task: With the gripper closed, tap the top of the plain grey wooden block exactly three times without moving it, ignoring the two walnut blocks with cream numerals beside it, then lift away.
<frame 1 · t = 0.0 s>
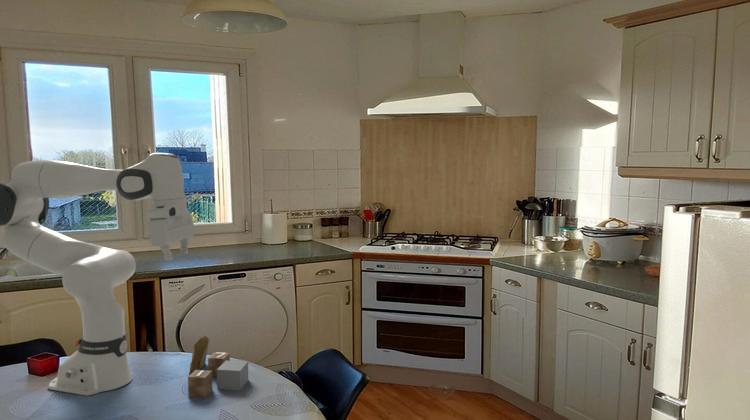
hand: (176, 256, 156), 39 cm above the table, tool pointing down, fingers open, 8 cm apart
walnut block seven: (219, 374, 169), on the table
grey block: (233, 384, 161), on the table
rock: (195, 369, 173), on the table
walnut block one: (200, 393, 155), on the table
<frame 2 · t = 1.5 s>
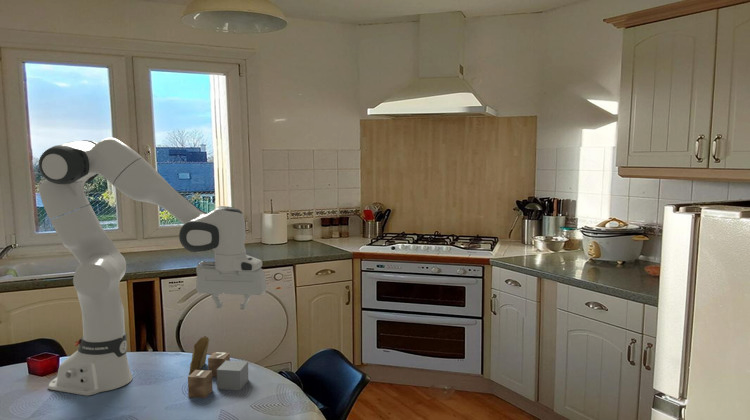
hand: (231, 308, 159), 23 cm above the table, tool pointing down, fingers open, 6 cm apart
nothing on the table moved.
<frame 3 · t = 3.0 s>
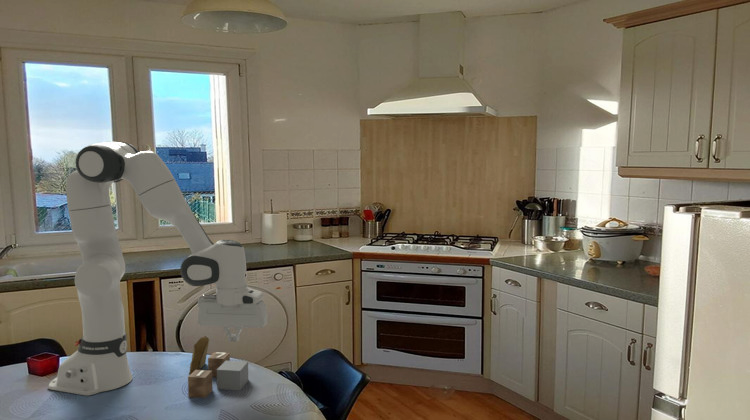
hand: (233, 340, 160), 13 cm above the table, tool pointing down, fingers closed
nothing on the table moved.
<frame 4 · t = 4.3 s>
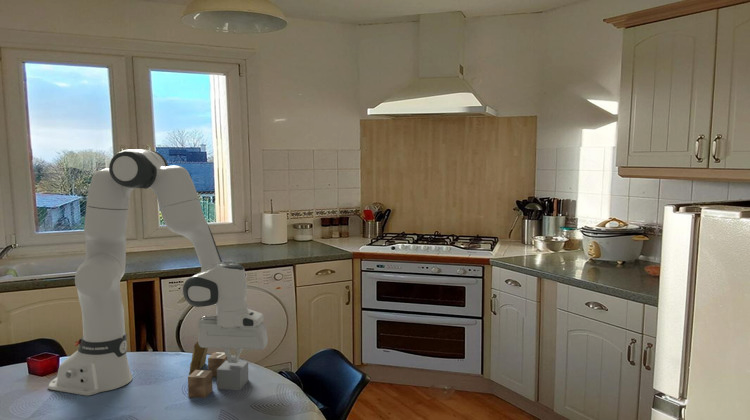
hand: (233, 362, 161), 7 cm above the table, tool pointing down, fingers closed
nothing on the table moved.
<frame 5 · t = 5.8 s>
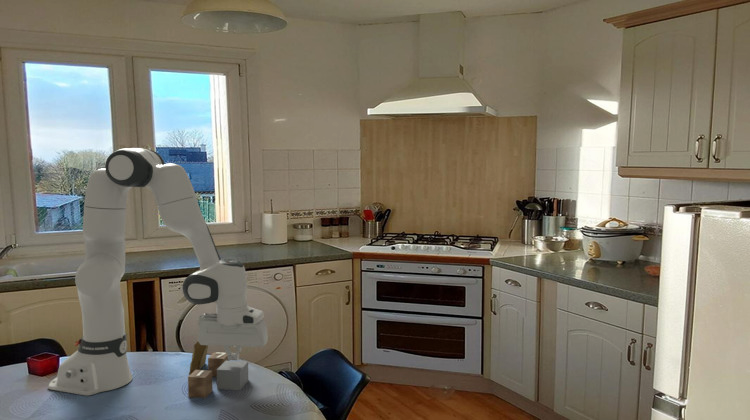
hand: (233, 359, 161), 8 cm above the table, tool pointing down, fingers closed
nothing on the table moved.
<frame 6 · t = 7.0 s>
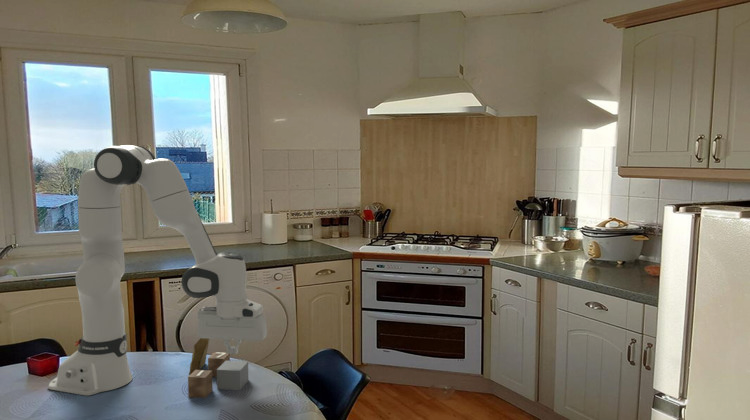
hand: (232, 353, 160), 10 cm above the table, tool pointing down, fingers closed
nothing on the table moved.
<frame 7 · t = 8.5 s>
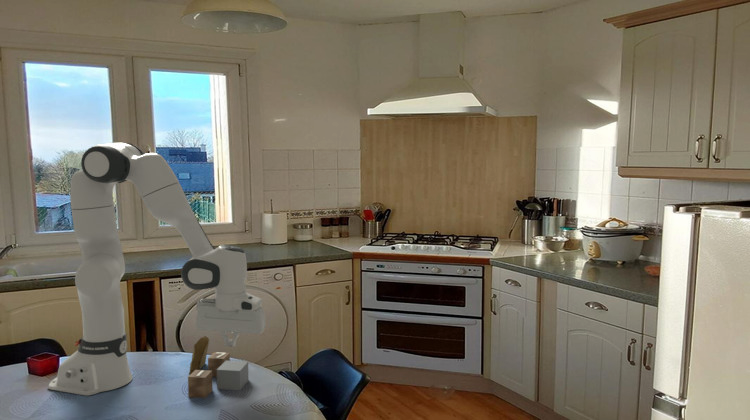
hand: (229, 345, 160), 12 cm above the table, tool pointing down, fingers closed
nothing on the table moved.
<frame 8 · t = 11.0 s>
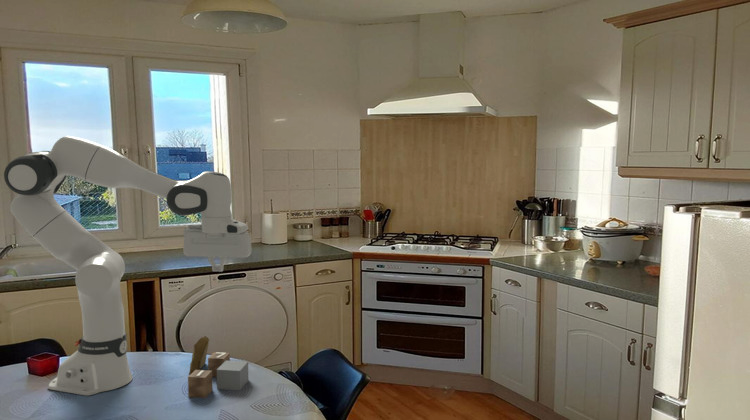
hand: (217, 271, 163), 33 cm above the table, tool pointing down, fingers closed
nothing on the table moved.
at the end: grey block moved 0.2 cm from its start; grey block tilted 0°; walnut block seven moved 0.1 cm from its start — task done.
